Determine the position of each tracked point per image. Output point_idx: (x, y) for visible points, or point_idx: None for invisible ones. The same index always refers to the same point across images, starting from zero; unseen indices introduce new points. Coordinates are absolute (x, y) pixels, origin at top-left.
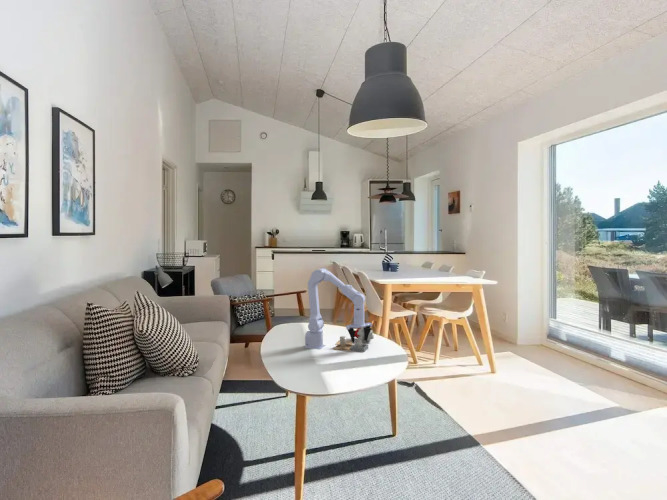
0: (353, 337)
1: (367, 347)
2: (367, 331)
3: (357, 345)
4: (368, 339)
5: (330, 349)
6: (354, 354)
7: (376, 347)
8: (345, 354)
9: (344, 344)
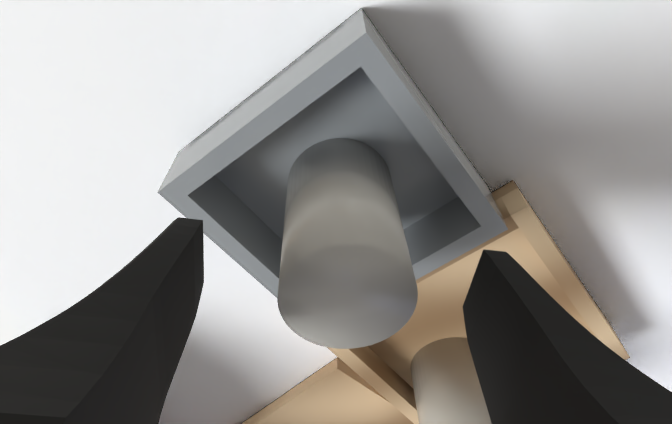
0: (559, 318)
1: (203, 144)
2: (105, 363)
3: (397, 207)
4: None
5: None
6: (559, 23)
7: (9, 163)
8: (664, 107)
9: (466, 371)
